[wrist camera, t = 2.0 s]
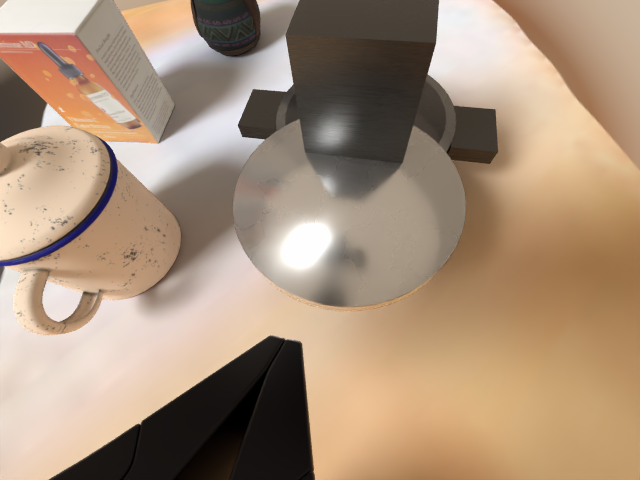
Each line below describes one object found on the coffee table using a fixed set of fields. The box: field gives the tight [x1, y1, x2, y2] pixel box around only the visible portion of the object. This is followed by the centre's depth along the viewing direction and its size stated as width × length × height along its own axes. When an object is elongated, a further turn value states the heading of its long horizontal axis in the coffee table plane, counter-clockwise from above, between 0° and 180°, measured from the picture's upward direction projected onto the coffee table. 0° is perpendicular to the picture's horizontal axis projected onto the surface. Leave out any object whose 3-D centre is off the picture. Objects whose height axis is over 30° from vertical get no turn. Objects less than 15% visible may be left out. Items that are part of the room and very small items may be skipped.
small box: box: [0, 0, 175, 143], centre depth 26 cm, size 8×6×10 cm
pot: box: [238, 75, 498, 164], centre depth 24 cm, size 13×19×6 cm
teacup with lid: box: [0, 126, 181, 335], centre depth 19 cm, size 12×9×12 cm
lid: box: [233, 0, 466, 311], centre depth 14 cm, size 13×13×8 cm
